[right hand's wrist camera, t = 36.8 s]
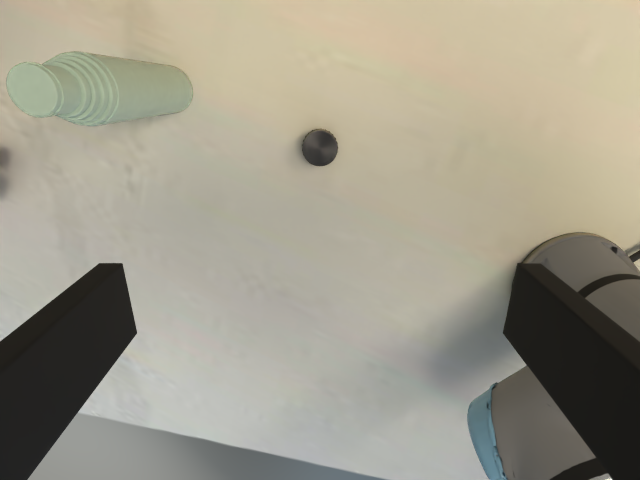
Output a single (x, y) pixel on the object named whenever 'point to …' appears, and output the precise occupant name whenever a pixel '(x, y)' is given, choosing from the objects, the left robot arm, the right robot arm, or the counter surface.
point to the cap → (319, 147)
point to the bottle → (98, 89)
